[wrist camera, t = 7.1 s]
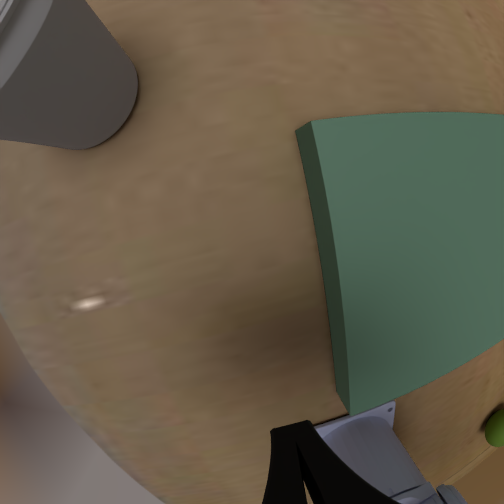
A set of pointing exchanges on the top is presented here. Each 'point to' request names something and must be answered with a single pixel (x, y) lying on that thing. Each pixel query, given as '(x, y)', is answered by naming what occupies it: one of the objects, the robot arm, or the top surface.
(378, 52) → the top surface
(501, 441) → the snail figurine
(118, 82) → the beverage can
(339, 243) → the putting board
